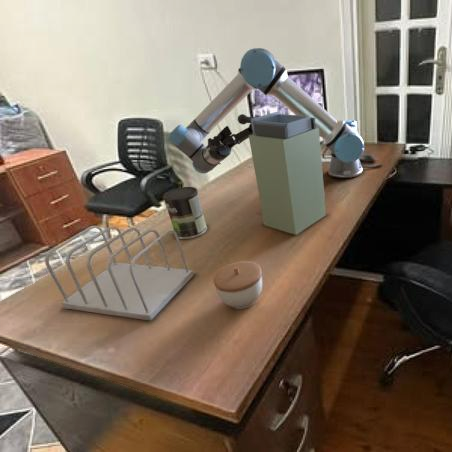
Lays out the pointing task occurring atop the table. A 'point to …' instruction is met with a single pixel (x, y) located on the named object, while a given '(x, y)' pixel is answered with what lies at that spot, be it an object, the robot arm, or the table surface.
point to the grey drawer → (280, 122)
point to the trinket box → (239, 284)
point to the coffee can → (185, 212)
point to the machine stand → (288, 177)
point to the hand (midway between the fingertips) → (245, 125)
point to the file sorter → (124, 280)
